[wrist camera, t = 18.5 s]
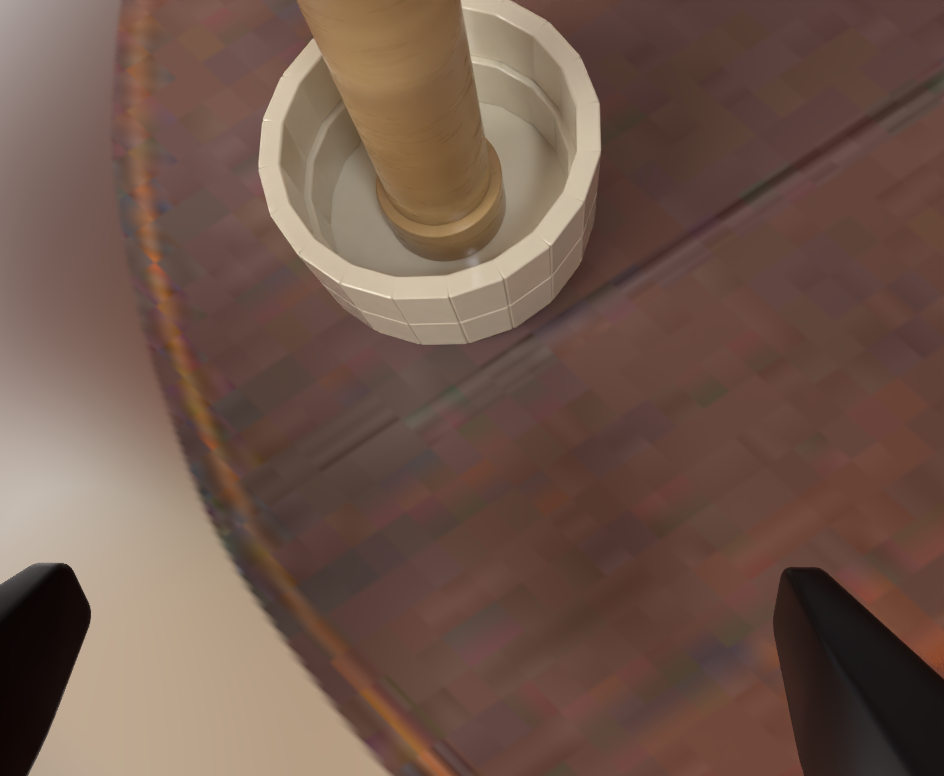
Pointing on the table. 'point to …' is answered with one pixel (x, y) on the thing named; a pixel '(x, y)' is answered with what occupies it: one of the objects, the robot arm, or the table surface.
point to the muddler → (416, 118)
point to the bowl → (523, 169)
